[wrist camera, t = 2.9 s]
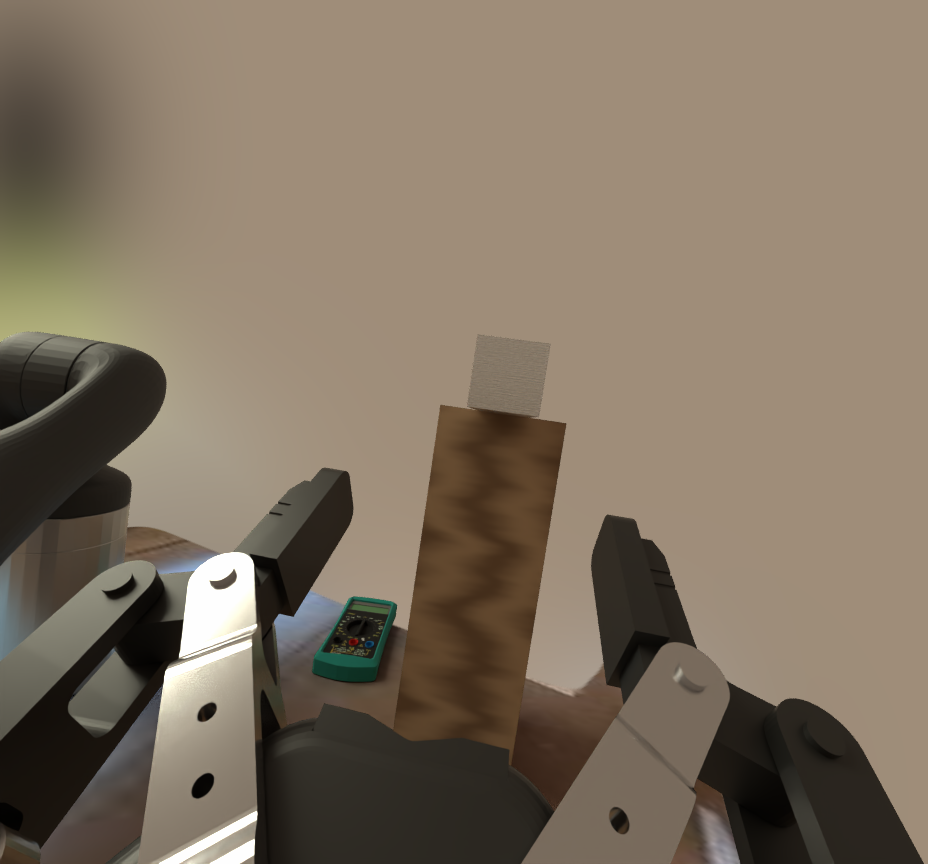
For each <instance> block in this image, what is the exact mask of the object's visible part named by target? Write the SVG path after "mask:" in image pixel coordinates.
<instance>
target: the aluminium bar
mask: <svg viewBox="0 0 928 864" xmlns="http://www.w3.org/2000/svg"><path fill="white" fill-rule="evenodd" d="M549 350H550V344H547V343H539V342H532V341H524V340H516V339H509V338H501V337H493V336H484V335H477V342H476V349H475V355H474V362H473V369H472V376H471V382H470V389H469V396H468V403H467V407H470V408H473V409H475V410H479V411H486V412H492V413H499V414H506V415H513V416H520V417H526V418H531V417H539V413H540V407H541V401H542V394H543V387H544V382H545V375H546V369H547V363H548V356H549Z"/></svg>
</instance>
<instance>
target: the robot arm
mask: <svg viewBox="0 0 928 864" xmlns="http://www.w3.org/2000/svg"><path fill="white" fill-rule="evenodd" d="M165 393H166V377H165V373H164V371H163V369H162V367H161V366H160V365H159V363H158V362H157V361H156V360H155V359H154V358H152V357H151V356H149V355H148V354H146V353H144V352H142V351H139V350H136V349H133V348H130V347H126V346H123V345H118V344H112V343H106V342H100V341H94V340H88V339H81V338H75V337H68V336H62V335H55V334H48V333H41V332H22V333H17V334H14V335H11V336H9V337H7V338H6V339H4V340H3V341H1V342H0V864H40V855H41V854H40V849H41V847H42V846H43V845H44V843H45V842H46V841H47V839H48V838H49V837H50V835H51V834H52V833H53V831H54V830H55V829H56V827H57V826H58V824H59V823H60V822H61V820H62V819H63V818H64V816H65V815H66V814H67V812H68V811H69V810H70V808H71V807H72V806H73V804H74V803H75V802H76V800H77V799H78V797H79V796H80V795H81V793H82V792H83V791H84V789H85V788H86V787H87V785H88V784H89V783H90V781H91V780H92V779H93V777H94V776H95V774H96V773H97V772H98V770H99V769H100V768H101V766H102V765H103V764H104V762H105V761H106V760H107V758H108V757H109V756H110V754H111V753H112V752H113V750H114V749H115V747H116V746H117V745H118V743H119V742H120V741H121V739H122V738H123V737H124V735H125V734H126V733H127V731H128V730H129V729H130V727H131V726H132V724H133V723H134V722H135V720H136V719H137V718H138V716H139V715H140V714H141V712H142V711H143V710H144V708H145V707H146V706H147V704H148V703H149V701H150V700H151V699H152V697H153V696H154V695H155V693H156V692H157V691H158V689H159V688H160V687H161V685H162V684H163V683H164V685H163V691H162V698H161V705H160V712H159V719H158V726H157V733H156V740H155V747H154V754H153V760H152V767H151V774H150V781H149V788H148V795H147V802H146V809H145V816H144V823H143V829H142V835H141V836H140V837H138V838H137V839H136V840H134V841H133V842H132V843H131V844H129V845H128V846H127V847H126V848H124V849H123V850H122V851H120V852H119V853H118V854H117V855H115V856H114V857H113V858H112V859H110V860H109V861H108V862H106V863H105V864H671V861H672V859H673V856H674V854H675V851H676V849H677V847H678V844H679V842H680V839H681V837H682V834H683V832H684V829H685V827H686V824H687V822H688V819H689V817H690V815H691V812H692V809H693V807H694V803H695V800H696V791H695V790H694V785H695V782H696V779H699V780H701V781H702V782H704V783H706V784H707V785H709V786H711V787H712V788H714V789H715V790H717V791H719V792H720V793H722V794H723V798H724V802H725V806H726V810H727V813H728V817H729V821H730V825H731V829H732V833H733V837H734V840H735V844H736V848H737V852H738V856H739V860H740V864H924V863H923V861H922V859H921V858H920V855H919V854H918V852H917V850H916V848H915V846H914V844H913V843H912V841H911V839H910V837H909V835H908V833H907V831H906V830H905V828H904V826H903V824H902V822H901V821H900V819H899V817H898V815H897V813H896V811H895V809H894V807H893V805H892V804H891V802H890V800H889V798H888V796H887V794H886V792H885V791H884V789H883V787H882V785H881V783H880V781H879V780H878V778H877V776H876V774H875V772H874V770H873V768H872V767H871V765H870V763H869V761H868V759H867V757H866V755H865V754H864V752H863V750H862V748H861V747H860V745H859V744H858V742H857V741H856V740H855V739H854V737H853V736H852V735H851V733H850V732H849V731H848V730H847V729H846V728H845V727H844V726H843V725H842V724H841V723H840V722H839V721H838V720H837V719H835V718H834V717H833V716H832V715H830V714H829V713H827V712H826V711H825V710H823V709H821V708H820V707H818V706H816V705H814V704H812V703H810V702H807V701H804V700H800V699H786V700H784V701H782V702H781V703H780V704H779V705H778V706H777V707H776V706H773V705H772V704H770V703H768V702H766V701H764V700H762V699H760V698H758V697H756V696H754V695H752V694H750V693H748V692H746V691H744V690H742V689H740V688H738V687H736V686H735V685H733V684H731V683H729V682H728V681H727V680H726V679H725V677H724V675H723V674H722V672H721V671H720V669H719V668H718V667H717V665H716V664H715V663H714V662H713V661H712V660H711V659H710V658H709V657H708V656H706V655H705V654H704V653H703V652H701V651H699V650H698V649H697V647H696V645H695V642H694V639H693V636H692V634H691V631H690V628H689V625H688V622H687V619H686V616H685V614H684V611H683V608H682V605H681V602H680V599H679V596H678V593H677V590H675V585H674V582H673V579H672V576H670V570H669V568H668V565H667V562H666V559H665V556H664V555H663V554H662V553H661V551H660V550H659V549H658V547H657V546H656V545H655V544H654V542H653V541H651V540H647V539H641V537H640V534H639V530H638V527H637V524H636V521H635V520H634V519H630V518H624V517H619V516H612V515H606V517H605V519H604V521H603V524H602V527H601V530H600V532H599V535H598V538H597V541H596V544H595V547H594V550H593V554H592V562H591V570H592V578H593V585H594V593H595V600H596V608H597V615H598V624H599V631H600V638H601V646H602V654H603V662H604V669H605V677H606V684H607V685H610V686H614V687H619V688H621V691H622V697H623V704H624V706H623V707H622V709H621V710H620V712H619V713H618V715H617V716H616V717H615V719H614V720H613V722H612V724H611V725H610V727H609V728H608V730H607V731H606V733H605V734H604V736H603V737H602V739H601V741H600V742H599V744H598V745H597V747H596V748H595V750H594V751H593V753H592V755H591V756H590V758H589V759H588V761H587V762H586V764H585V765H584V767H583V768H582V770H581V772H580V773H579V775H578V776H577V778H576V779H575V781H574V782H573V784H572V786H571V787H570V789H569V790H568V792H567V793H566V795H565V796H564V798H563V800H562V801H561V803H560V804H559V806H558V807H557V809H556V810H555V812H554V810H553V809H552V807H551V806H550V804H549V803H548V801H547V800H546V799H545V797H544V796H543V795H542V793H541V792H540V791H539V790H538V789H537V788H536V787H535V786H534V784H533V783H532V782H531V781H530V780H529V779H528V778H526V777H525V776H524V775H523V774H522V773H520V772H519V771H518V770H516V769H515V768H513V767H512V766H510V765H509V752H510V750H509V749H505V748H501V747H497V746H493V745H489V744H485V743H481V742H477V741H473V740H469V739H465V738H451V739H437V740H423V741H411V740H408V739H406V738H404V737H403V736H401V735H399V734H398V733H396V732H395V731H393V730H392V729H390V728H389V727H387V726H385V725H384V724H382V723H381V722H379V721H378V720H376V719H375V718H373V717H371V716H370V715H368V714H365V713H361V712H357V711H353V710H349V709H345V708H341V707H337V706H333V705H329V704H325V703H324V706H323V708H322V710H321V712H320V715H319V717H318V718H311V719H307V720H302V721H299V722H296V723H293V724H290V725H288V726H287V721H286V715H285V710H284V705H283V701H282V695H281V686H280V675H279V663H278V652H277V641H276V630H275V625H274V621H275V619H276V617H277V616H278V614H283V615H288V616H292V617H294V615H295V613H296V612H297V610H298V608H299V607H300V605H301V604H302V602H303V600H304V599H305V597H306V595H307V594H308V592H309V590H310V589H311V587H312V586H313V584H314V582H315V580H316V579H317V577H318V576H319V574H320V572H321V571H322V569H323V567H324V566H325V564H326V563H327V561H328V559H329V558H330V556H331V554H332V552H333V551H334V549H335V548H336V546H337V545H338V543H339V541H340V540H341V538H342V536H343V535H344V533H345V531H346V530H347V528H348V526H349V525H350V522H351V519H352V515H353V500H352V492H351V484H350V476H349V473H348V472H347V471H342V470H336V469H330V468H322V469H321V470H320V471H319V472H318V473H317V475H316V476H315V477H314V478H313V479H312V481H311V482H310V481H303V482H301V483H300V484H298V485H296V486H295V487H293V488H292V489H290V490H289V491H288V492H287V493H286V494H285V495H284V496H283V497H282V498H281V499H280V500H279V502H278V504H276V505H275V506H274V507H273V508H272V509H271V510H270V512H269V514H267V515H266V516H265V517H264V518H263V519H262V520H261V522H260V523H259V524H258V525H257V526H256V527H255V528H254V529H253V530H252V532H251V533H250V534H249V535H248V536H247V537H246V538H245V539H244V540H243V542H242V543H241V544H240V545H239V546H238V547H237V548H236V549H235V550H234V552H232V553H227V554H222V555H219V556H217V557H214V558H212V559H210V560H209V561H207V562H205V563H204V564H203V565H201V566H200V567H199V568H198V569H197V570H196V571H191V572H180V573H169V574H158V572H157V570H156V569H155V567H154V565H153V564H152V563H150V562H147V561H130V562H126V563H124V555H125V545H126V536H127V525H128V516H129V506H130V498H131V480H130V478H129V477H128V476H127V475H126V474H125V473H123V472H121V471H119V470H117V469H115V468H113V467H110V466H108V465H106V464H107V463H109V462H110V461H111V460H112V459H113V458H115V457H116V456H117V455H118V454H119V453H121V452H122V451H123V450H124V449H125V448H127V447H128V446H129V445H130V444H131V443H132V442H134V441H135V440H136V439H137V438H138V437H139V436H140V435H141V434H142V433H143V432H144V431H145V430H146V429H147V427H148V426H149V425H150V424H151V423H152V422H153V420H154V419H155V417H156V415H157V414H158V412H159V411H160V408H161V406H162V404H163V401H164V398H165ZM114 650H115V652H114ZM77 692H78V693H77ZM75 693H77V694H76V695H75V696H74V697H73V699H72V700H71V701H70V699H71V697H72V695H73V694H75Z"/></svg>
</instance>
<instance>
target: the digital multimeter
mask: <svg viewBox="0 0 928 864" xmlns="http://www.w3.org/2000/svg"><path fill="white" fill-rule="evenodd" d="M396 610H397V605H396V604H395V603H393V602H391V601H386V600H380V599H373V598H365V597H351V598H349V599H348V601H347V603H346V605H345V607H344V609H343V611H342V613H341V615H340V617H339V619H338V620H337V622H336V624H335V626H334V627H333V629H332V630H331V632H330V634H329V635H328V637H327V638H326V640H325V641H324V643H323V644H322V646H321V647H320V648H319V650H318V651H317V653H316V654H315V656H314V661H313V669H312V672H313V673H314V674H317V675H320V676H323V677H327V678H330V679H334V680H340V681H351V682H368V681H374V680H375V679H376V676H377V672H378V668H379V664H380V660H381V656H382V653H383V649H384V646H385V643H386V640H387V637H388V634H389V631H390V629H391V627H392V624H393V621H394V619H395V617H396ZM371 621H372V622H371ZM385 623H386V624H385ZM380 637H381V638H380ZM375 651H376V652H375Z"/></svg>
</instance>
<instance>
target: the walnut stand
mask: <svg viewBox="0 0 928 864" xmlns="http://www.w3.org/2000/svg"><path fill="white" fill-rule="evenodd" d="M565 429H566V423H560V422H554V421H547V420H540V419H533V418H526V417H520V416H513V415H506V414H499V413H492V412H486V411H479V410H472V409H465V408H458V407H452V406H445V405H440V412H439V419H438V426H437V433H436V440H435V447H434V453H433V461H432V468H431V475H430V482H429V488H428V496H427V502H426V509H425V516H424V522H423V529H422V536H421V543H420V550H419V557H418V564H417V571H416V578H415V584H414V592H413V599H412V605H411V612H410V619H409V626H408V633H407V639H406V646H405V653H404V660H403V667H402V674H401V681H400V688H399V695H398V701H397V708H396V715H395V722H394V729H393V731H395V732H396V733H398V734H399V735H401V736H403V737H404V738H406V739H408V740H411V741H423V740H437V739H451V738H465V739H469V740H473V741H477V742H481V743H485V744H489V745H493V746H497V747H501V748H505V749H509V750H510V752H509V765H510V766H511V763H512V756H513V750H514V744H515V738H516V732H517V725H518V719H519V713H520V707H521V701H522V695H523V688H524V682H525V676H526V670H527V664H528V657H529V651H530V644H531V638H532V633H533V626H534V620H535V614H536V607H537V601H538V596H539V589H540V583H541V577H542V571H543V565H544V559H545V552H546V546H547V539H548V534H549V528H550V521H551V515H552V509H553V502H554V497H555V490H556V484H557V478H558V471H559V466H560V459H561V453H562V447H563V441H564V435H565Z"/></svg>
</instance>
